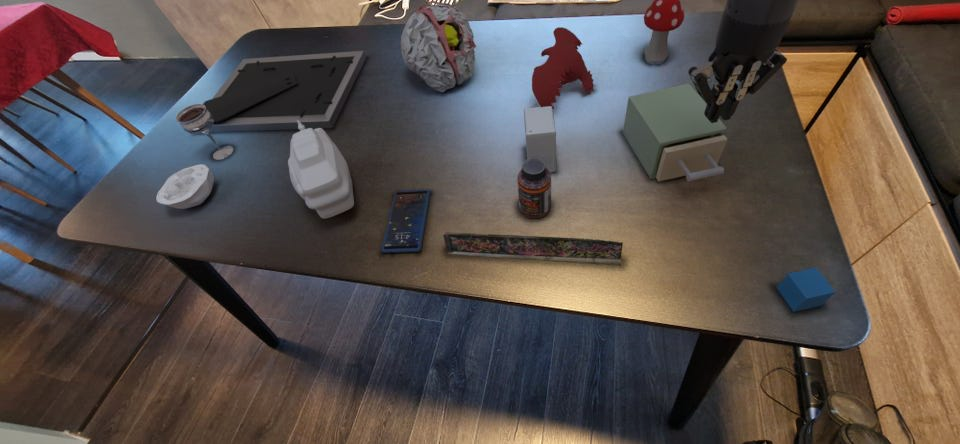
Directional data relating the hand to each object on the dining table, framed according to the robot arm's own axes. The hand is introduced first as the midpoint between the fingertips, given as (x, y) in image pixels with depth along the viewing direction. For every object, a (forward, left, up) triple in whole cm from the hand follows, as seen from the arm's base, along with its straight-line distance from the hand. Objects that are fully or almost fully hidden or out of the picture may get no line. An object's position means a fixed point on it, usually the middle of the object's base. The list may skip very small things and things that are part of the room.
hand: (717, 117), depth 66 cm
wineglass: (+87, +61, -16) cm, 107 cm away
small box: (+26, +13, -16) cm, 33 cm away
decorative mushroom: (+29, -31, -16) cm, 46 cm away
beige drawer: (+5, -3, -15) cm, 16 cm away
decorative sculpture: (+67, +6, -16) cm, 69 cm away
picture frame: (+97, +39, -16) cm, 106 cm away
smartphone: (+34, +42, -16) cm, 56 cm away
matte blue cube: (-23, +9, -16) cm, 29 cm away
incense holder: (+11, +31, -16) cm, 37 cm away
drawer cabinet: (+9, -6, -16) cm, 19 cm away
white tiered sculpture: (+51, +49, -16) cm, 72 cm away
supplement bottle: (+18, +23, -16) cm, 33 cm away
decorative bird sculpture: (+38, -9, -16) cm, 42 cm away
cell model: (+76, +71, -16) cm, 105 cm away
